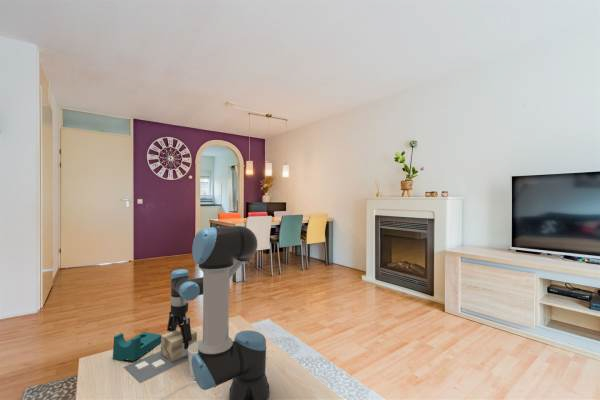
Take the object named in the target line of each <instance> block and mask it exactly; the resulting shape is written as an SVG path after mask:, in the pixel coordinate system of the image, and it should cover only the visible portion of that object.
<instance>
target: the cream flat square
mask: <svg viewBox="0 0 600 400" xmlns="http://www.w3.org/2000/svg"><path fill="white" fill-rule="evenodd" d="M164 365H165V362H164V361H163V360H161V359H160V360H158V361H156V362H153V363H152V366H153V367H154V368H155V369H158V368H160V367H162V366H164Z"/></svg>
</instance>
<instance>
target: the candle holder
mask: <svg viewBox="0 0 600 400" xmlns="http://www.w3.org/2000/svg"><path fill="white" fill-rule="evenodd" d="M202 341H203V340H197V342H194V343H192V344H191V345H189V347H188V360H187V361H188V375H189V376H190V377H191V378H194V379H193V380H192V381H194V382H196V379H195V376H194V373H193V369H192V356H193V355H194V354H196V353H198V346H199V344H200V343H201V342H202Z"/></svg>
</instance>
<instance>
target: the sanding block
mask: <svg viewBox="0 0 600 400" xmlns="http://www.w3.org/2000/svg"><path fill="white" fill-rule="evenodd" d="M160 335H161V343H160V351H161V355H162V356H163V357H165V358H166V359H167V360H169V361H170V362H171V363H173V362H175V361H178V360H180V359H182V358H184V357H186V356H188V354H187V355H185V356H182V342H183V338H182V334H181V330H180V328H179V327H178V328H176V330H174V331H171V332H169V331H168V332H166V333H164V334H160ZM191 336H192V340H191V341H189V345H191V344H192V343H194V342H197V341H198V332H197V331H196V330H194V329H192V328H191Z"/></svg>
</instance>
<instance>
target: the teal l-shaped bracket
mask: <svg viewBox="0 0 600 400" xmlns="http://www.w3.org/2000/svg"><path fill="white" fill-rule="evenodd" d="M161 335H162V334H160V333H152V332H147V331H146V332H145V331H143V332H141V333H139V334H137V335H136V336H134V337H133V338H130V339H129V340H126V339H125V337H124V333H118V334H116V335H114V336H113V348H112V360H113V361H118V362H119V361H120V362H124V361H131V362H132V361H134V362H135V360H136V361H137V359H139V358H140V357H142V356H143V355H145V354H147V353H148V352H150V351H151V350H152V349H154V348H156V347H157V346H158V345H161Z"/></svg>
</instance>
